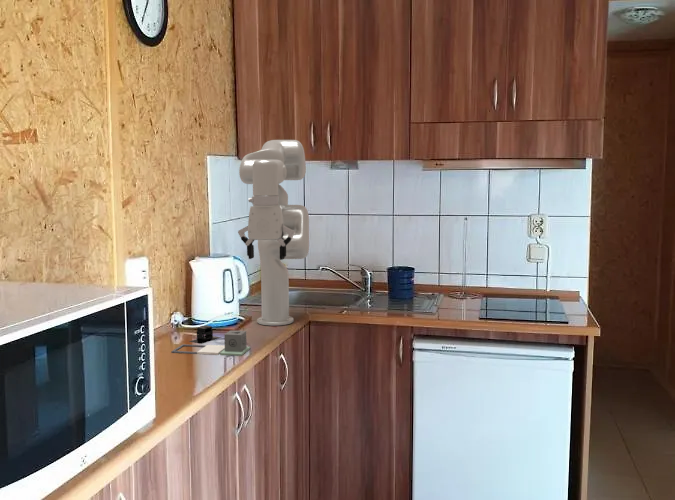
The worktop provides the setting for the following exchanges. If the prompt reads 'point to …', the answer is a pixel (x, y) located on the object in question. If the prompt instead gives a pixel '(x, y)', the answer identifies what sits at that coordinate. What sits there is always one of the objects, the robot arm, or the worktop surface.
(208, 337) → the black angular block
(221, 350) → the game board
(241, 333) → the dice cube
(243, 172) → the robot arm
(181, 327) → the worktop surface
